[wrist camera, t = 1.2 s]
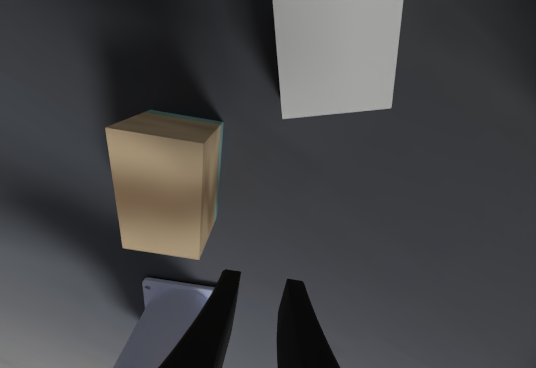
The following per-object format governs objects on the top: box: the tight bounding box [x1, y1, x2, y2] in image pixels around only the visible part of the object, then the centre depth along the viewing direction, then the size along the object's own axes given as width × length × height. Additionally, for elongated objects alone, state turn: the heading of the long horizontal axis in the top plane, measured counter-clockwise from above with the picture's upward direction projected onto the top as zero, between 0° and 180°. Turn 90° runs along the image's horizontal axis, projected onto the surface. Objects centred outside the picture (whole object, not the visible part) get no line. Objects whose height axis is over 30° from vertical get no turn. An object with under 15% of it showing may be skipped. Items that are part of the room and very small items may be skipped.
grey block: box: [273, 0, 403, 119], centre depth 13 cm, size 5×5×5 cm
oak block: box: [105, 110, 223, 260], centre depth 17 cm, size 8×5×5 cm, turn 171°
